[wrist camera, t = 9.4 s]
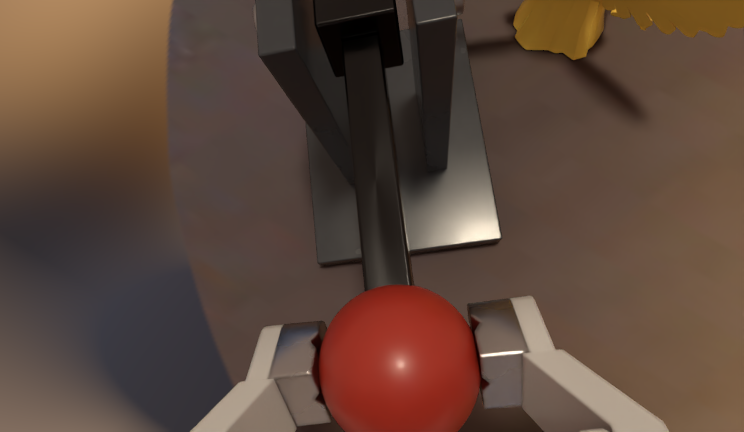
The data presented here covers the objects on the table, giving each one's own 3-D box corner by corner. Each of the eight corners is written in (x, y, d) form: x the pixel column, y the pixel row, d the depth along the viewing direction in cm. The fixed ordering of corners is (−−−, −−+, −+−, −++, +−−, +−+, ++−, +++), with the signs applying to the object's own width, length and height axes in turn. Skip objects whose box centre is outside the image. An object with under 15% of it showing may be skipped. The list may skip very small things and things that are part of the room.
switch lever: (486, 430, 11) (506, 468, 7) (344, 442, 11) (301, 484, 8) (416, 4, 15) (408, -99, 11) (313, 24, 15) (276, -69, 12)
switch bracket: (499, 242, 22) (580, 152, 9) (323, 266, 23) (185, 213, 10) (460, 31, 24) (484, -257, 12) (305, 61, 25) (178, -175, 13)
